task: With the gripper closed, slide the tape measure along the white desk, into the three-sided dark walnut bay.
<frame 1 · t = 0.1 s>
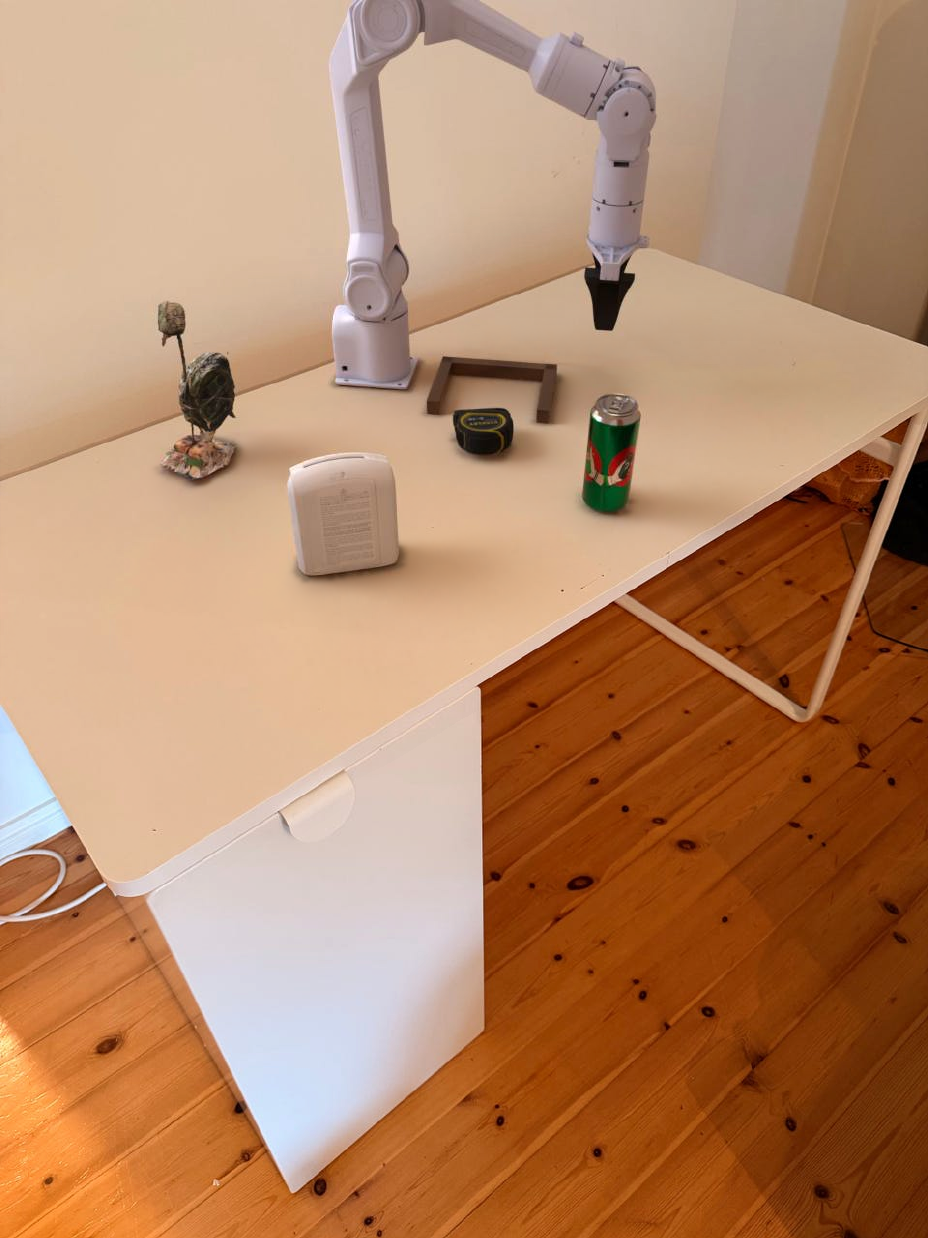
hand: (605, 314, 112), 10 cm above the table, tool pointing down, fingers open, 7 cm apart
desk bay: (492, 397, 117), on the table
soda can: (604, 502, 101), on the table
tape measure: (480, 444, 110), on the table
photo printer: (350, 562, 94), on the table
plant with pod: (207, 457, 108), on the table
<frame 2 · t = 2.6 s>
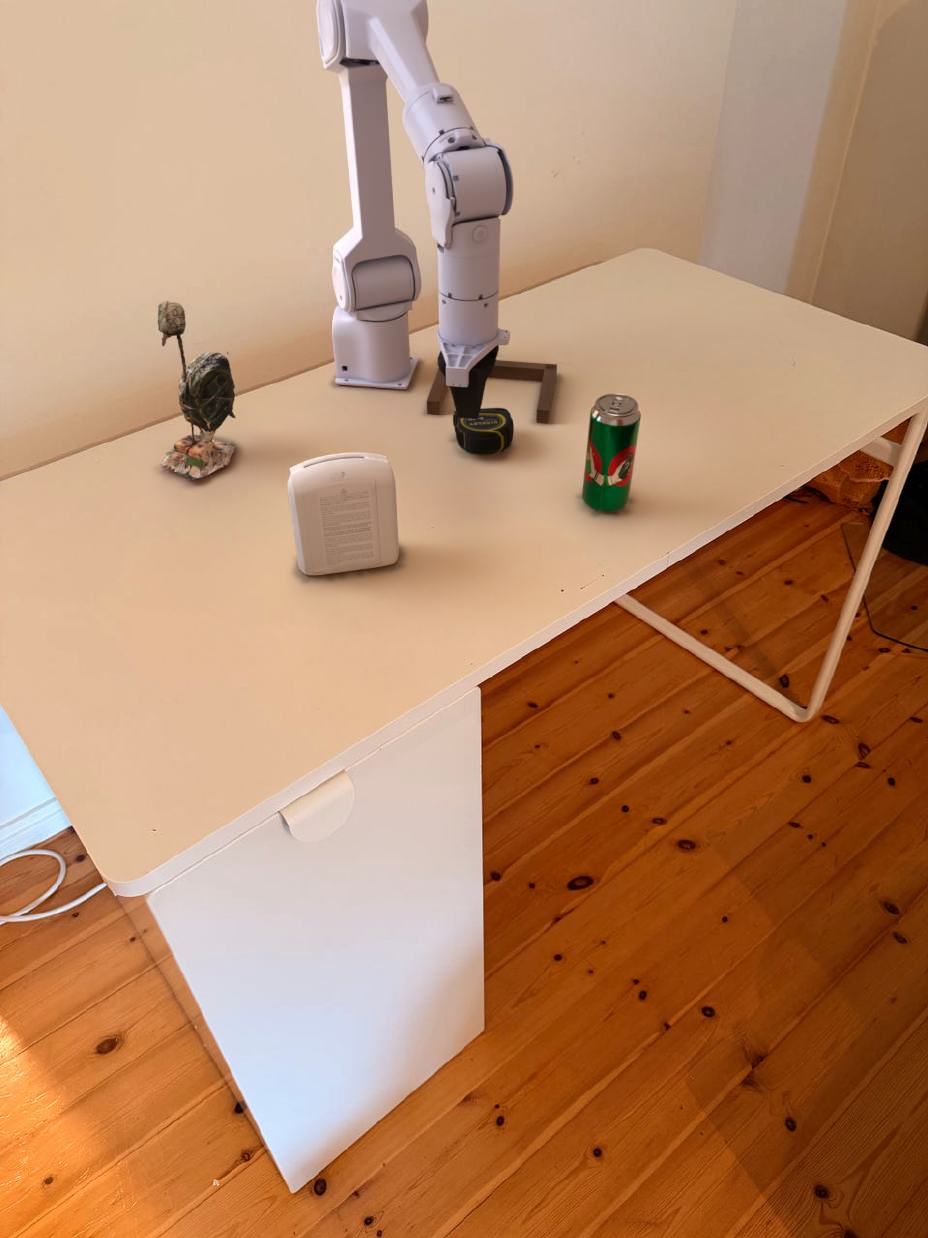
hand: (468, 415, 97), 9 cm above the table, tool pointing down, fingers closed
nothing on the table moved.
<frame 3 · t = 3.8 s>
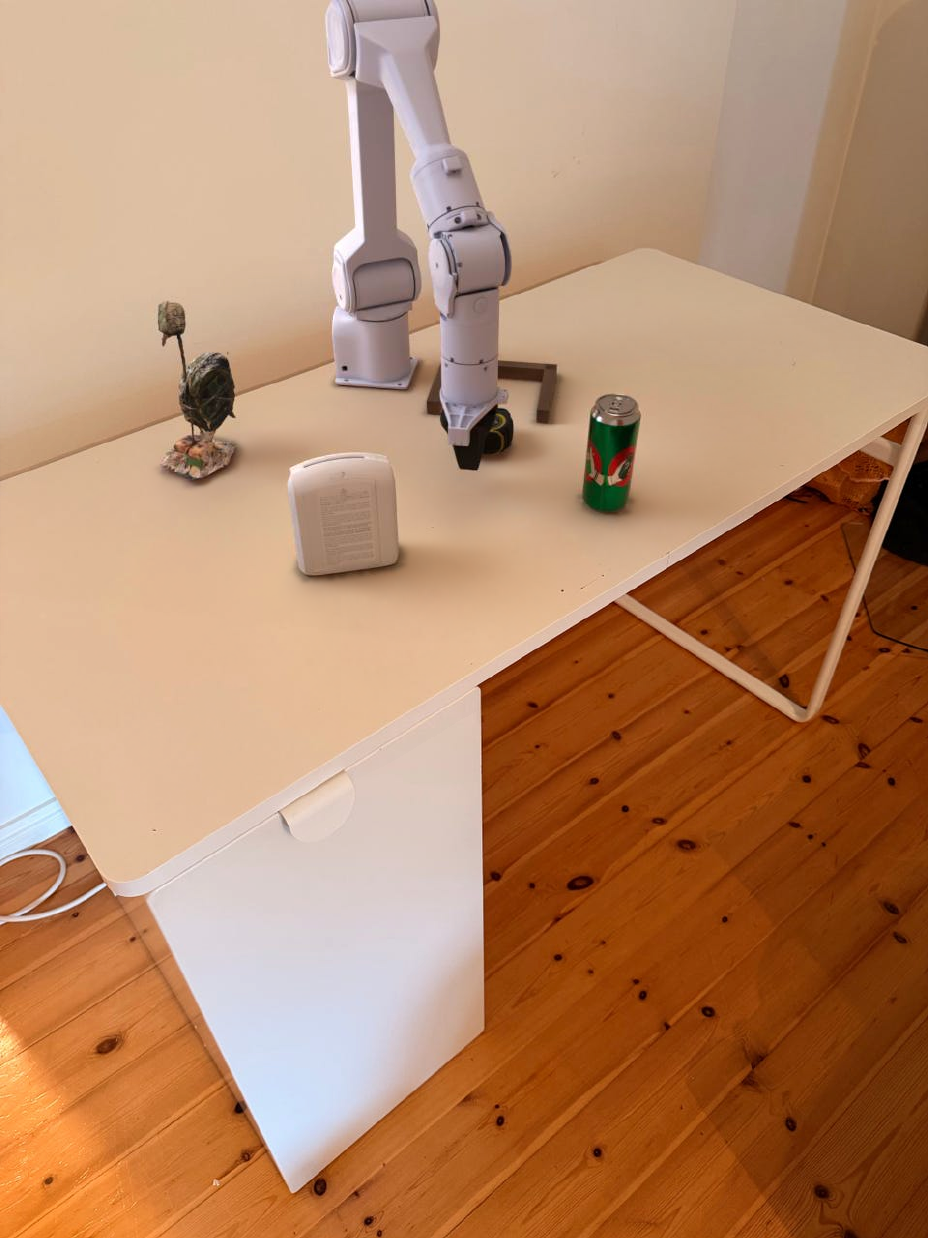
hand: (469, 466, 102), 3 cm above the table, tool pointing down, fingers closed
nothing on the table moved.
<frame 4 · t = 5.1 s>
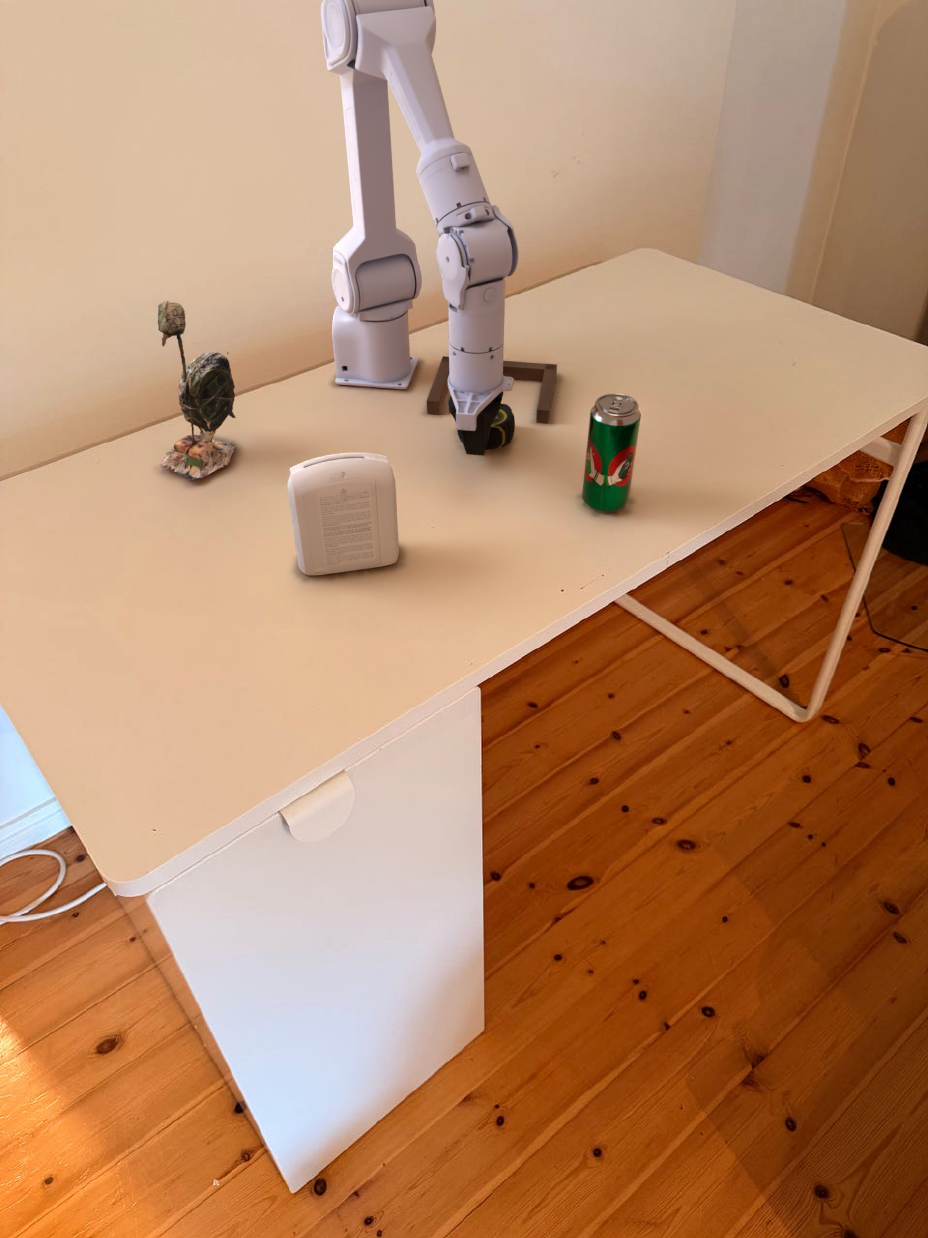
hand: (475, 451, 106), 1 cm above the table, tool pointing down, fingers closed
tape measure: (482, 439, 111), on the table, touching gripper
everything else where it was.
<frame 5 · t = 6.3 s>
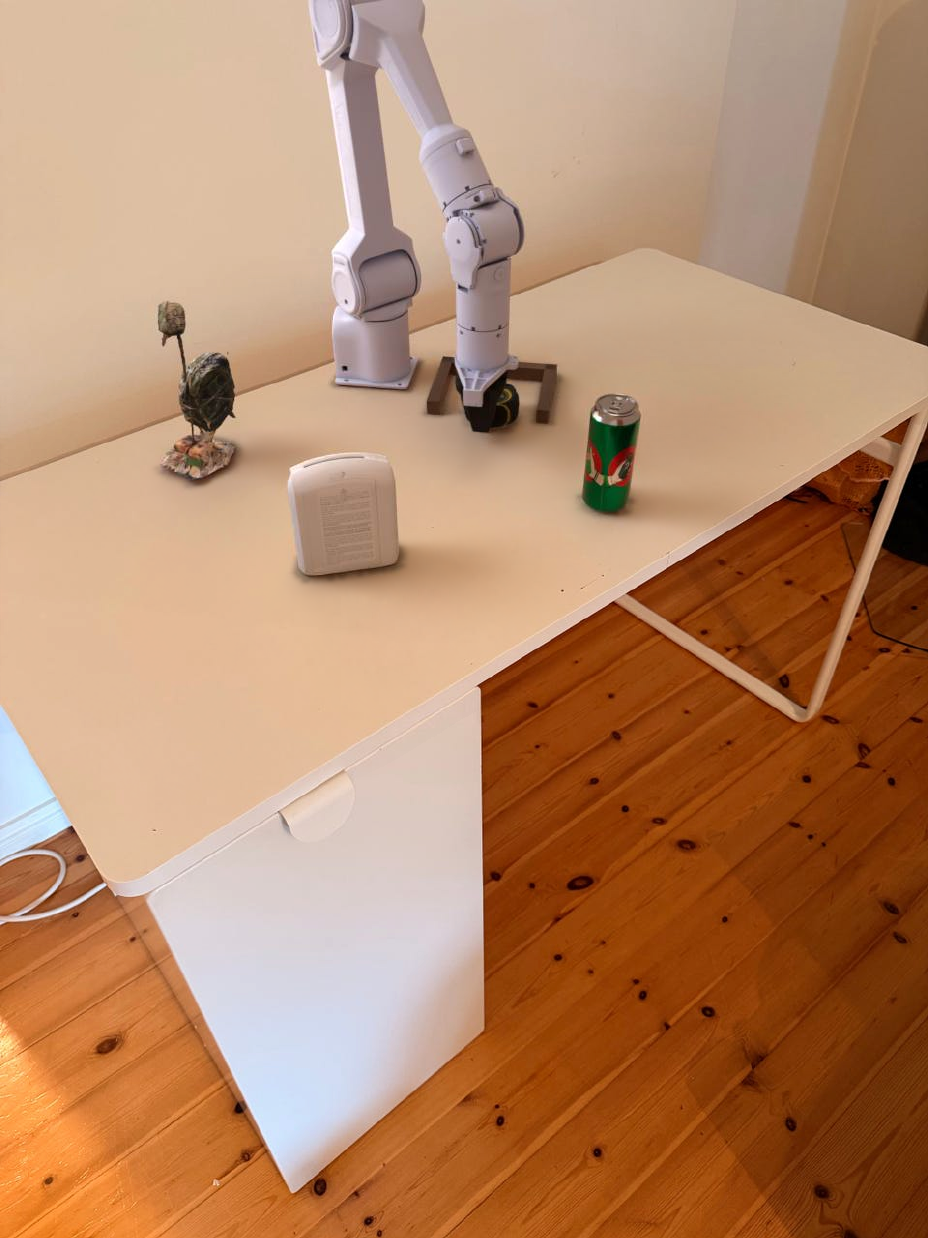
hand: (481, 429, 109), 1 cm above the table, tool pointing down, fingers closed
tape measure: (487, 418, 114), on the table, touching gripper
everything else where it was.
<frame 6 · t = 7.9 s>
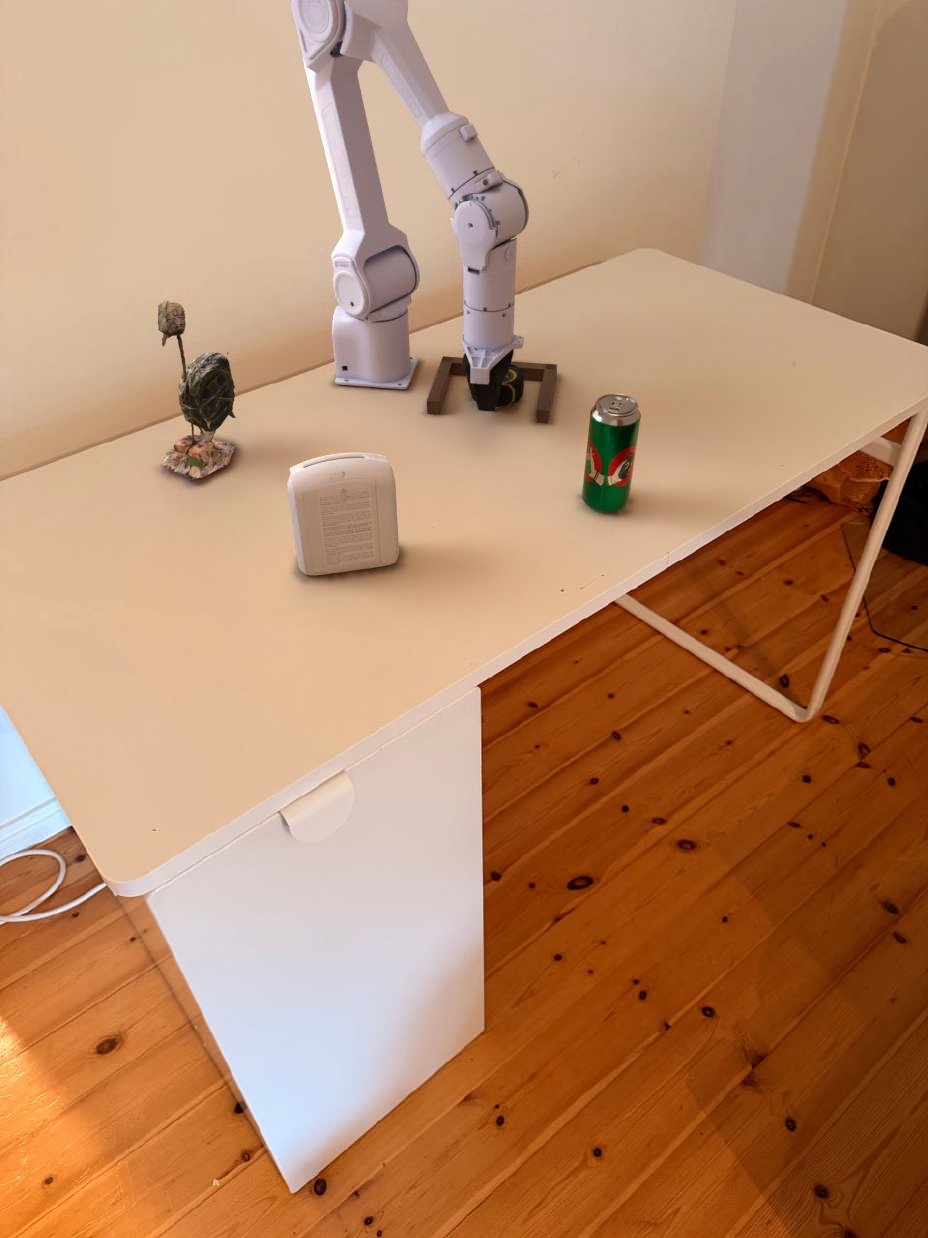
hand: (487, 408, 113), 1 cm above the table, tool pointing down, fingers closed
tape measure: (492, 398, 118), on the table, touching gripper
everything else where it was.
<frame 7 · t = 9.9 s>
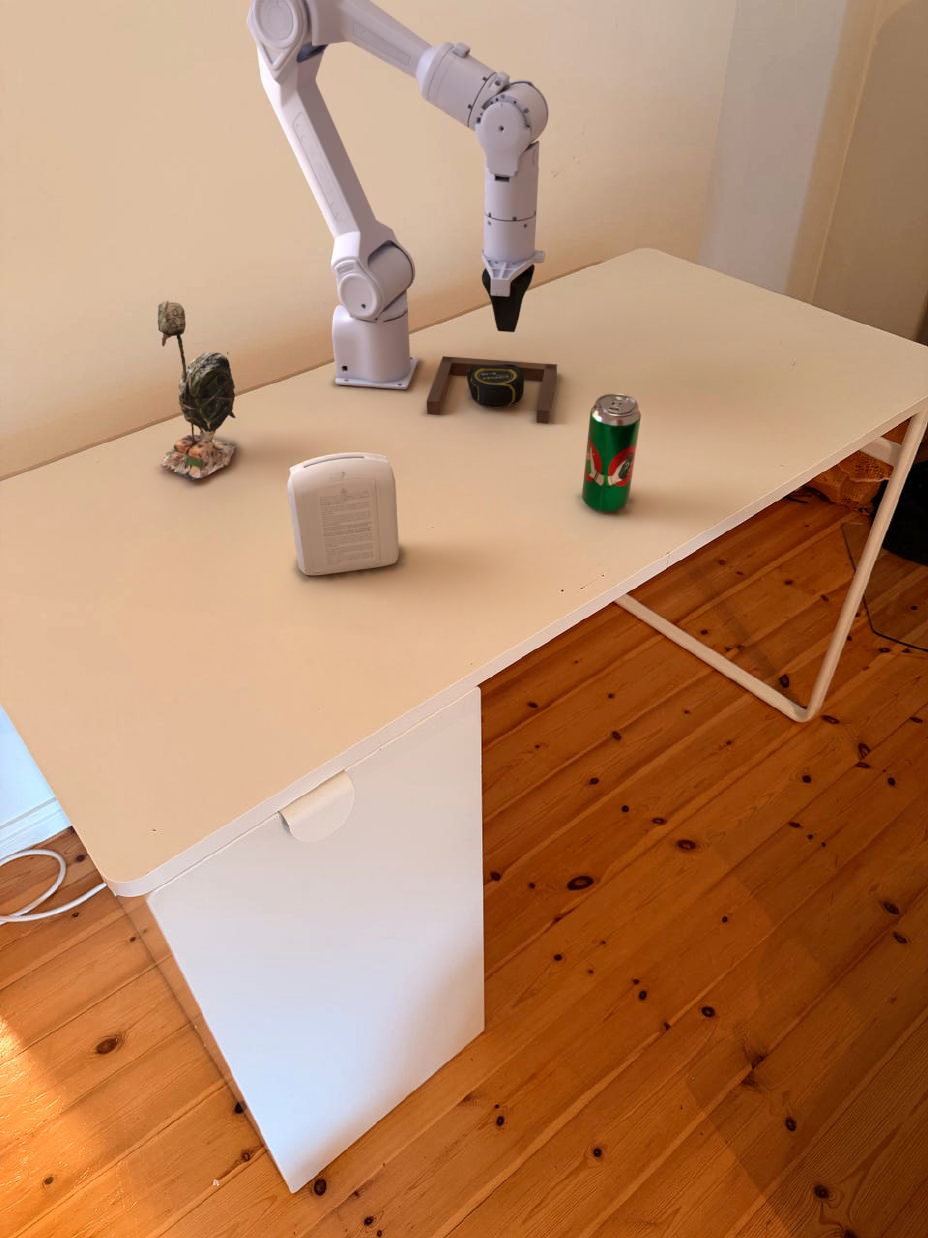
hand: (506, 329, 111), 9 cm above the table, tool pointing down, fingers closed
tape measure: (492, 398, 118), on the table
everything else where it was.
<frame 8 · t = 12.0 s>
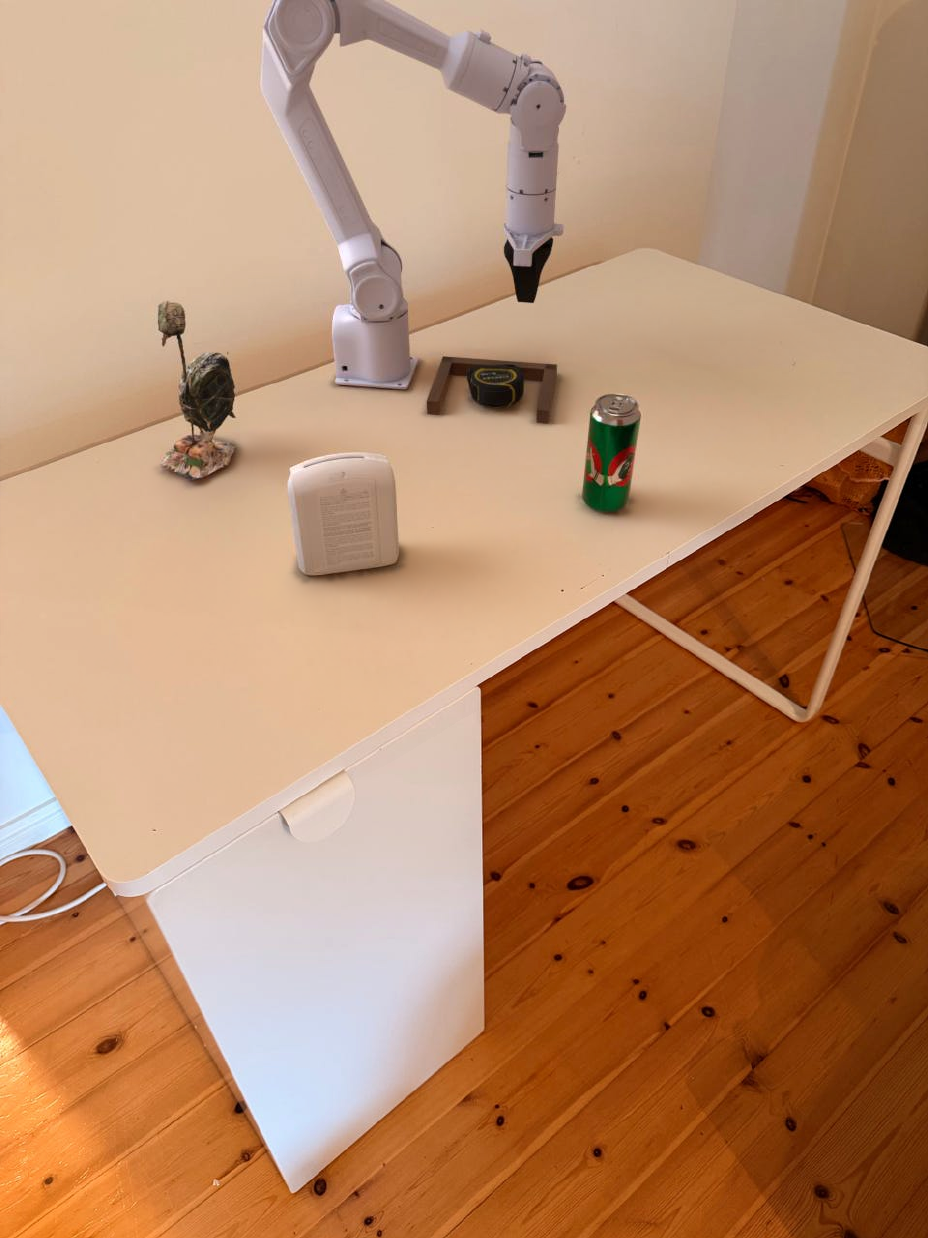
hand: (526, 300, 116), 9 cm above the table, tool pointing down, fingers closed
nothing on the table moved.
at the end: tape measure 0.2 cm off-centre on the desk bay, point 0.0 cm above the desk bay's base; tape measure moved 10.6 cm from its start; tape measure tilted 0° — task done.
